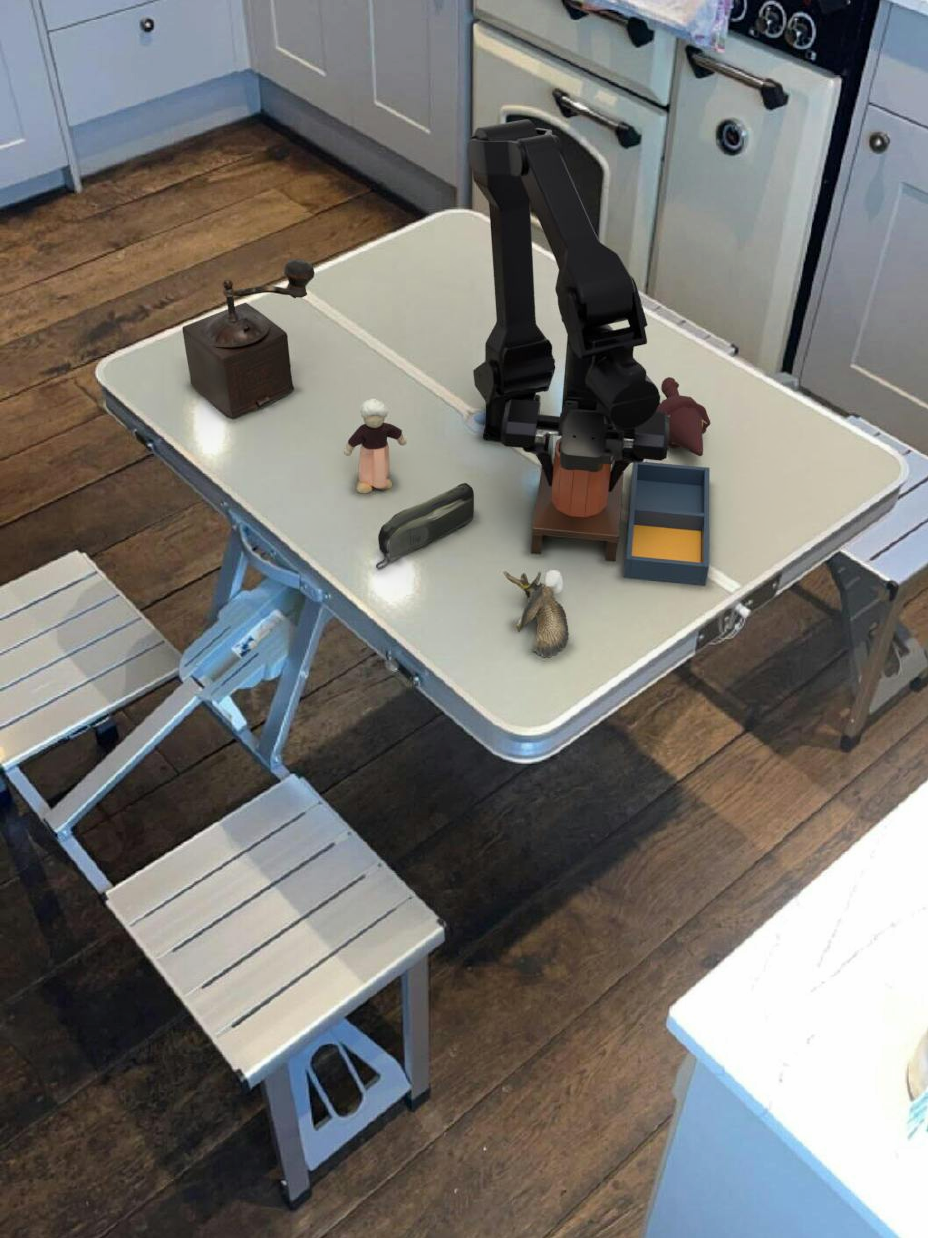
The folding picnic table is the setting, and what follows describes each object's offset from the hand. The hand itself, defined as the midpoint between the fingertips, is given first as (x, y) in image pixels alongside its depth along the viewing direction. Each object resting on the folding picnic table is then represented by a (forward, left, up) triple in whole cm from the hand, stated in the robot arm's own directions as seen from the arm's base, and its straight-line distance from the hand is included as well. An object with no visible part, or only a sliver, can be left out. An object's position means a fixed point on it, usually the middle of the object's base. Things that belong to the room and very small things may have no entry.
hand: (580, 486), depth 152 cm
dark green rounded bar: (-18, -6, -6) cm, 20 cm away
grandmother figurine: (-25, +4, -6) cm, 26 cm away
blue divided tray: (+11, 0, -6) cm, 12 cm away
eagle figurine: (-3, -18, -6) cm, 19 cm away
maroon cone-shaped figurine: (+12, +18, -6) cm, 22 cm away
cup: (0, 0, -2) cm, 2 cm away
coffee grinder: (-45, +23, -6) cm, 51 cm away
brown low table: (0, 0, -6) cm, 6 cm away
